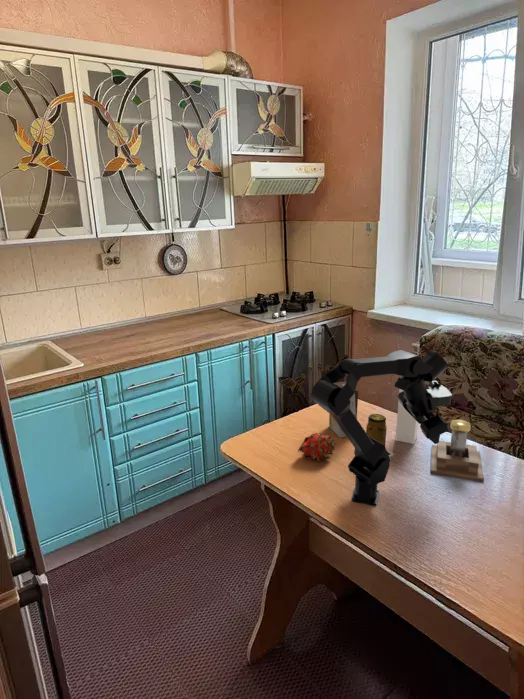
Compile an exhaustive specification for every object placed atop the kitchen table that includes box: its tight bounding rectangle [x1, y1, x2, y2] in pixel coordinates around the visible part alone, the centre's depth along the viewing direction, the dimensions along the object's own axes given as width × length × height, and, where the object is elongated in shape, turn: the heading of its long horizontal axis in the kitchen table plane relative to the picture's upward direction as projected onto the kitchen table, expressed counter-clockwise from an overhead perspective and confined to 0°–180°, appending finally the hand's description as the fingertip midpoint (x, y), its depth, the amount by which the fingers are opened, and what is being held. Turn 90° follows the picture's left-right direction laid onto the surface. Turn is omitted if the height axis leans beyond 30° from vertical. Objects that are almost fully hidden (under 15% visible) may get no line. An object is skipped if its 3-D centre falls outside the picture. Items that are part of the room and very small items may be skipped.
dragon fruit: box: [297, 432, 336, 462], centre depth 149 cm, size 8×8×12 cm
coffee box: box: [328, 381, 359, 438], centre depth 165 cm, size 9×6×16 cm
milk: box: [395, 388, 419, 445], centre depth 158 cm, size 6×6×22 cm
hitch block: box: [430, 440, 485, 482], centre depth 145 cm, size 16×14×4 cm
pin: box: [449, 419, 472, 457], centre depth 144 cm, size 5×5×12 cm
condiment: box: [365, 413, 396, 458], centre depth 151 cm, size 7×8×12 cm
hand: (428, 432), depth 138 cm, fingers open, 9 cm apart
